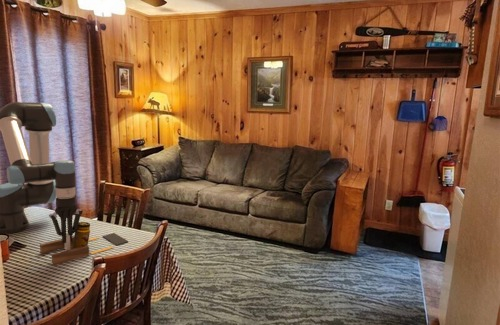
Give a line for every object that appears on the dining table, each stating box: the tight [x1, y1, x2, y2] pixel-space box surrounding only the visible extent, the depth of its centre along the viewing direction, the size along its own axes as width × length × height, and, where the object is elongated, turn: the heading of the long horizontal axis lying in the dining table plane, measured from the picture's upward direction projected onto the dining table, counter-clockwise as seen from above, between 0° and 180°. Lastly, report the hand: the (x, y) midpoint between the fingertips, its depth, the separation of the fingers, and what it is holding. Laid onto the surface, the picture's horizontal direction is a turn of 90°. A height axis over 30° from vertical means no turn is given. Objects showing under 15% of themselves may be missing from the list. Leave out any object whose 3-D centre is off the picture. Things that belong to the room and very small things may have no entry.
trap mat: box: [102, 232, 129, 246], centre depth 162 cm, size 14×6×1 cm, turn 49°
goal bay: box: [88, 236, 114, 255], centre depth 155 cm, size 17×10×1 cm, turn 49°
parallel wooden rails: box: [39, 235, 90, 266], centre depth 145 cm, size 16×14×4 cm
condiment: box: [70, 221, 91, 250], centre depth 148 cm, size 7×8×12 cm
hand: (67, 249), depth 145 cm, fingers closed
